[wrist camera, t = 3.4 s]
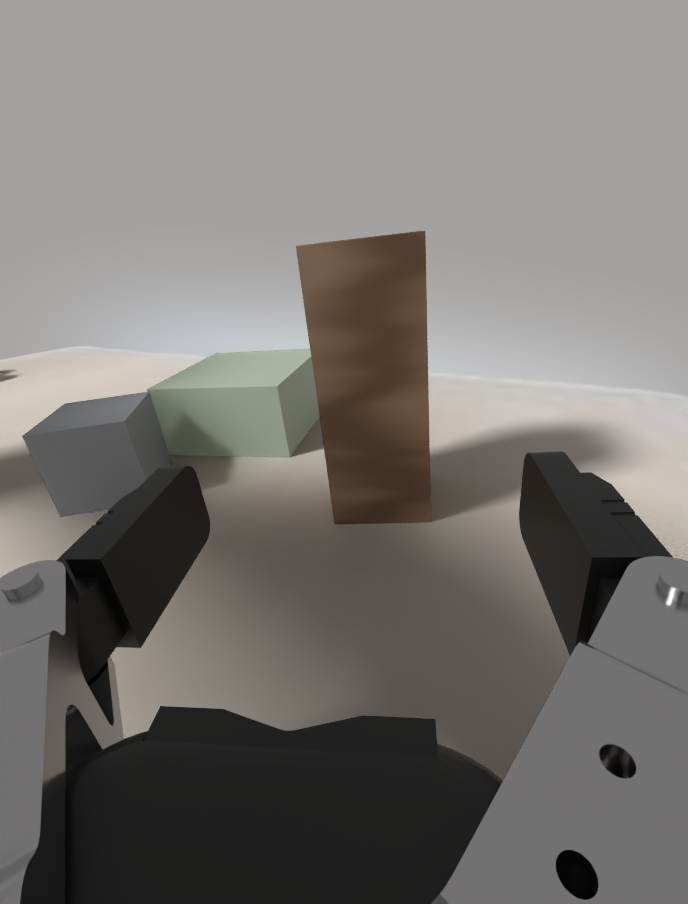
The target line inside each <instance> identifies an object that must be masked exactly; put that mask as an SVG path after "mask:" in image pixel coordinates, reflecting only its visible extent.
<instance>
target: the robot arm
mask: <svg viewBox="0 0 688 904" xmlns="http://www.w3.org/2000/svg"><path fill="white" fill-rule="evenodd" d="M519 520H520V529H521V534H522V537H523V540H524V543H525V545H526V548H527V550H528V553H529V555H530V558H531V560H532V562H533V565H534V567H535V570H536V572H537V575H538V577H539V580H540V582H541V585H542V587H543V590H544V592H545V595H546V597H547V600H548V602H549V605H550V607H551V609H552V612H553V614H554V617H555V619H556V622H557V624H558V627H559V629H560V632H561V634H562V637H563V639H564V642H565V644H566V647H567V649H568V652H569V654H570V658H569V660H568V662H567V663H566V665H565V667H564V669H563V671H562V673H561V674H560V676H559V678H558V680H557V682H556V684H555V686H554V687H553V689H552V691H551V693H550V695H549V697H548V699H547V700H546V702H545V704H544V706H543V708H542V710H541V712H540V713H539V715H538V717H537V719H536V721H535V723H534V725H533V726H532V728H531V730H530V732H529V734H528V736H527V738H526V739H525V741H524V743H523V745H522V747H521V749H520V751H519V752H518V754H517V756H516V758H515V760H514V762H513V764H512V765H511V767H510V769H509V771H508V773H507V775H506V777H505V778H504V780H502V779H500V778H499V777H498V776H497V775H495V774H494V773H493V772H491V771H490V770H489V769H487V768H486V767H484V766H483V765H481V764H479V763H478V762H476V761H475V760H473V759H471V758H469V757H467V756H465V755H463V754H461V753H459V752H457V751H455V750H453V749H450V748H447V747H444V746H441V745H439V744H437V738H436V725H435V719H422V718H400V717H379V716H359V717H355V718H350V719H345V720H341V721H336V722H331V723H327V724H322V725H317V726H313V727H308V728H304V729H299V730H294V731H284V730H280V729H277V728H274V727H271V726H269V725H266V724H263V723H260V722H257V721H255V720H252V719H249V718H246V717H243V716H241V715H238V714H235V713H232V712H230V711H227V710H224V709H208V708H187V707H165V706H160V708H159V710H158V712H157V714H156V716H155V718H154V720H153V722H152V724H151V726H150V728H149V730H148V731H146V732H143V733H140V734H137V735H134V736H131V737H128V738H126V739H124V737H123V729H122V721H121V713H120V705H119V697H118V689H117V680H116V672H115V666H114V663H113V661H112V659H111V657H110V655H111V654H112V652H113V651H114V649H115V648H116V647H132V648H141V647H142V645H143V643H144V642H145V640H146V638H147V637H148V635H149V634H150V632H151V630H152V629H153V627H154V626H155V624H156V622H157V621H158V619H159V617H160V616H161V614H162V613H163V611H164V609H165V608H166V606H167V605H168V603H169V601H170V600H171V598H172V596H173V595H174V593H175V592H176V590H177V588H178V587H179V585H180V584H181V582H182V580H183V579H184V577H185V575H186V574H187V572H188V571H189V569H190V567H191V566H192V564H193V562H194V561H195V559H196V558H197V556H198V554H199V553H200V551H201V550H202V548H203V546H204V545H205V543H206V541H207V539H208V536H209V531H210V520H209V515H208V512H207V508H206V505H205V502H204V498H203V495H202V491H201V488H200V485H199V481H198V478H197V475H196V472H195V470H194V469H193V468H192V467H190V466H176V467H160V468H158V469H157V470H156V471H155V472H154V473H153V474H152V475H151V476H150V477H149V478H148V479H147V480H145V481H144V482H143V483H142V484H141V485H140V486H139V487H138V488H137V489H136V490H134V491H132V492H131V493H129V494H127V495H126V496H124V497H122V498H121V499H120V500H119V501H118V502H117V503H116V504H115V505H114V506H113V507H112V508H110V509H109V510H108V514H104V515H103V516H102V517H101V518H100V519H99V520H98V521H97V522H96V523H97V524H96V525H93V526H92V527H91V528H90V529H89V530H88V531H87V532H86V533H85V534H83V535H82V536H81V537H80V538H79V539H78V540H77V541H76V542H75V543H74V544H73V545H72V546H71V547H70V548H69V549H68V550H67V551H66V552H65V553H64V554H63V555H62V556H61V557H60V558H59V559H58V560H57V561H53V560H46V561H39V562H35V563H31V564H28V565H25V566H23V567H20V568H18V569H16V570H14V571H11V572H10V573H8V574H6V575H4V576H3V577H1V578H0V904H688V561H685V560H682V559H677V558H673V557H672V556H671V555H670V553H669V552H668V551H667V550H666V549H665V547H664V546H663V545H662V544H661V543H660V542H659V540H658V539H657V538H656V537H655V536H654V534H653V533H652V532H651V531H650V530H649V528H648V527H647V526H646V525H645V524H644V522H643V521H642V520H641V519H640V518H639V517H638V515H635V512H634V511H633V509H632V508H631V507H630V506H629V505H628V503H625V502H624V499H623V497H622V496H621V495H620V494H619V493H618V492H617V490H616V489H615V488H614V487H613V486H612V485H611V484H610V483H608V482H606V481H605V480H603V479H601V478H599V477H598V476H596V475H594V474H593V473H580V472H579V471H578V470H577V468H576V467H575V466H574V464H573V463H572V462H571V460H570V459H569V458H568V456H567V455H566V454H565V453H564V452H541V453H527V454H526V456H525V459H524V466H523V477H522V488H521V499H520V510H519Z"/></svg>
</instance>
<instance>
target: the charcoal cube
mask: <svg viewBox="0 0 688 904" xmlns="http://www.w3.org/2000/svg"><path fill="white" fill-rule="evenodd" d="M22 437H23V439H24V441H25V443H26V445H27V447H28V449H29V451H30V454H31V456H32V458H33V460H34V462H35V464H36V466H37V468H38V470H39V472H40V475H41V477H42V479H43V481H44V483H45V485H46V487H47V489H48V491H49V493H50V496H51V498H52V500H53V502H54V504H55V506H56V508H57V510H58V512H59V514H60V517H63V516H69V515H75V514H81V513H88V512H94V511H100V510H106V509H110V508H112V507H113V506H114V505H115V504H116V503H117V502H118V501H119V500H120V499H121V498H122V497H124V496H126V495H127V494H129V493H131V492H132V491H134V490H136V489H137V488H138V487H139V486H140V485H141V484H142V483H143V482H144V481H145V480H147V479H148V478H149V477H150V476H151V475H152V474H153V473H154V472H155V471H156V470H157V469H158V468H160V467H170V465H171V463H172V462H171V458H170V455H169V452H168V449H167V446H166V443H165V439H164V436H163V433H162V430H161V427H160V424H159V421H158V417H157V414H156V411H155V408H154V405H153V402H152V399H151V395H150V392H144V393H137V394H130V395H123V396H116V397H109V398H102V399H95V400H87V401H80V402H73V403H66V404H64V405H63V406H61V407H60V408H59V409H57V410H56V411H55V412H53V413H52V414H51V415H49V416H48V417H47V418H45V419H44V420H43V421H41V422H40V423H39V424H38V425H36V426H35V427H34V428H32V429H31V430H30V431H28V432H27V433H26V434H24V435H23V436H22Z"/></svg>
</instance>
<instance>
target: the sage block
mask: <svg viewBox="0 0 688 904" xmlns="http://www.w3.org/2000/svg"><path fill="white" fill-rule="evenodd" d="M147 391H148V392H150V395H151V399H152V402H153V405H154V408H155V411H156V414H157V417H158V421H159V424H160V427H161V430H162V433H163V436H164V439H165V443H166V446H167V449H168V452H169V455H175V456H232V457H289V458H290V457H291V455H292V454H293V452H294V451H295V450H296V448H297V447H298V446H299V444H300V443H301V442H302V440H303V439H304V438H305V436H306V435H307V434H308V432H309V431H310V429H311V428H312V427H313V425H314V424H315V423H316V421H317V420H318V419H319V417H320V415H319V408H318V401H317V393H316V386H315V379H314V372H313V365H312V358H311V350H310V349H297V350H276V351H254V352H236V353H235V352H234V353H216V354H214V355H212V356H210V357H208V358H206V359H204V360H202V361H200V362H198V363H196V364H194V365H193V366H191V367H189V368H187V369H185V370H183V371H181V372H179V373H177V374H175V375H174V376H172V377H170V378H168V379H166V380H164V381H162V382H160V383H158V384H156V385H155V386H153V387H151V388H149V389H147Z"/></svg>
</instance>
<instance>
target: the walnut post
mask: <svg viewBox="0 0 688 904" xmlns="http://www.w3.org/2000/svg"><path fill="white" fill-rule="evenodd" d="M425 248H426V247H425V231H417V232H409V233H400V234H392V235H383V236H375V237H366V238H357V239H349V240H340V241H333V242H323V243H315V244H308V245H301V246H296V250H297V257H298V264H299V271H300V278H301V285H302V293H303V300H304V307H305V315H306V321H307V329H308V336H309V343H310V350H311V358H312V365H313V372H314V379H315V386H316V393H317V401H318V408H319V415H320V422H321V429H322V437H323V444H324V451H325V458H326V465H327V472H328V480H329V487H330V494H331V501H332V508H333V516H334V523H335V524H349V523H398V522H431V503H430V452H429V401H428V353H427V352H428V350H427V299H426V253H425V252H426V251H425V250H426V249H425Z"/></svg>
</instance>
